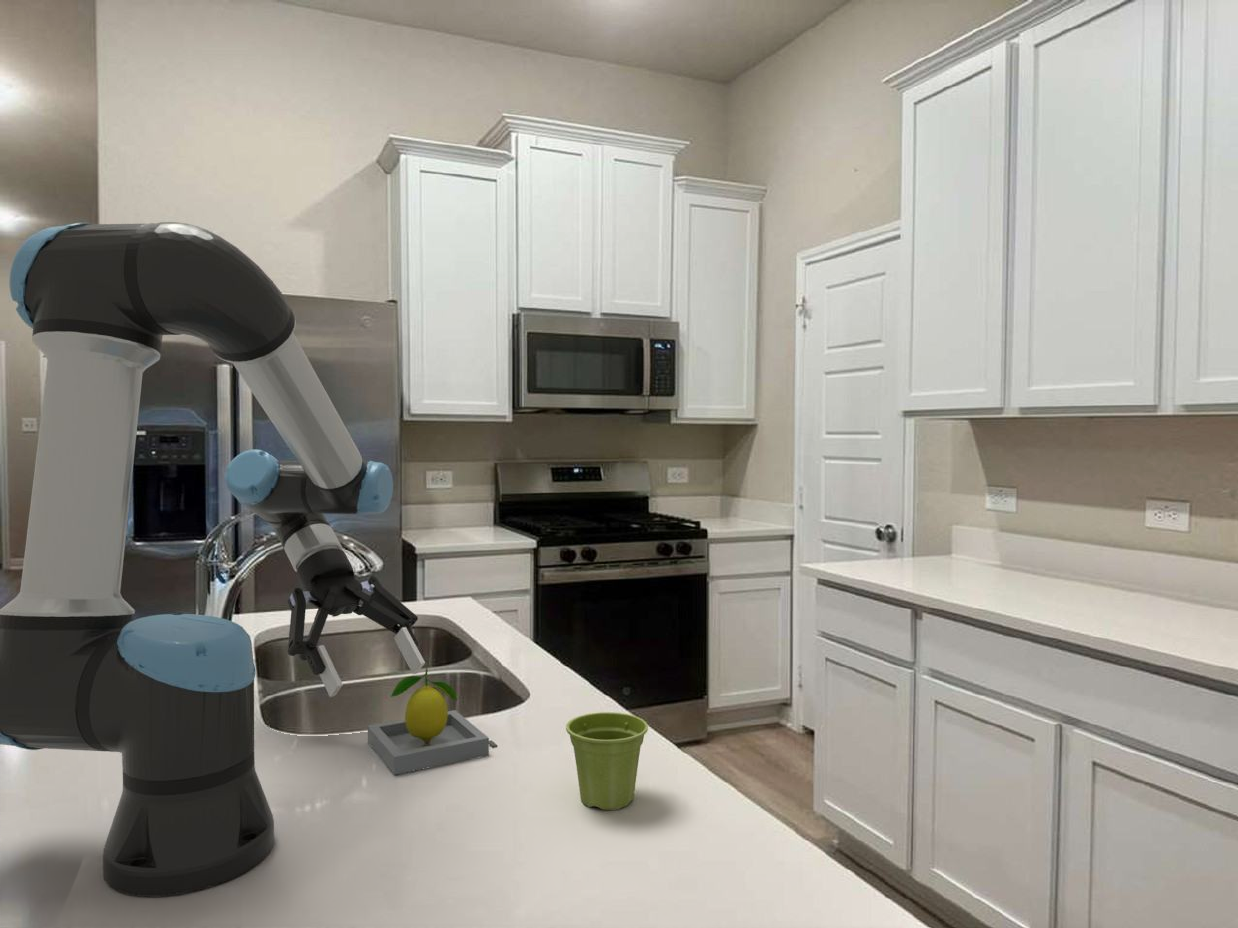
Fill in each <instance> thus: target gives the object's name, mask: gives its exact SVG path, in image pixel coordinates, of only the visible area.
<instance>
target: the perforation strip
mask: <svg viewBox="0 0 1238 928" xmlns="http://www.w3.org/2000/svg"><path fill="white" fill-rule="evenodd" d="M482 733H483V734H485V733H484V732H482ZM489 744H490V745H491V746H492V747H491V746H490V745H489V746H490V747H491V748H497V747H498V743H497V744H496V742H494V741H493V740H489Z"/></svg>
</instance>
